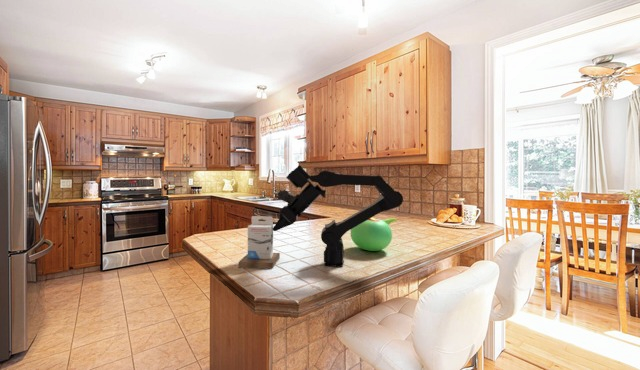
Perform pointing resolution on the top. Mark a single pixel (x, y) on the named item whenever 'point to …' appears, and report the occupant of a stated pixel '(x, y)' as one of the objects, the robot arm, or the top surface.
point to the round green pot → (373, 234)
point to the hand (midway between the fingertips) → (276, 227)
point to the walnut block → (259, 262)
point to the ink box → (260, 238)
